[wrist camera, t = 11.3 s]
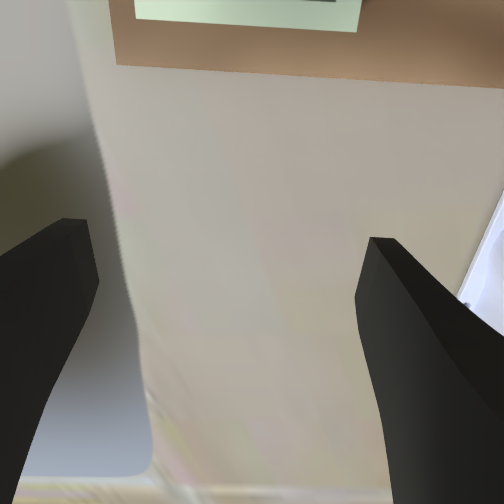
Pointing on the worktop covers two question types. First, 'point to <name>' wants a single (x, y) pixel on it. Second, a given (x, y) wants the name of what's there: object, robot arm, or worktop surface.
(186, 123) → the worktop surface
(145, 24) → the board
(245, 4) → the frame
